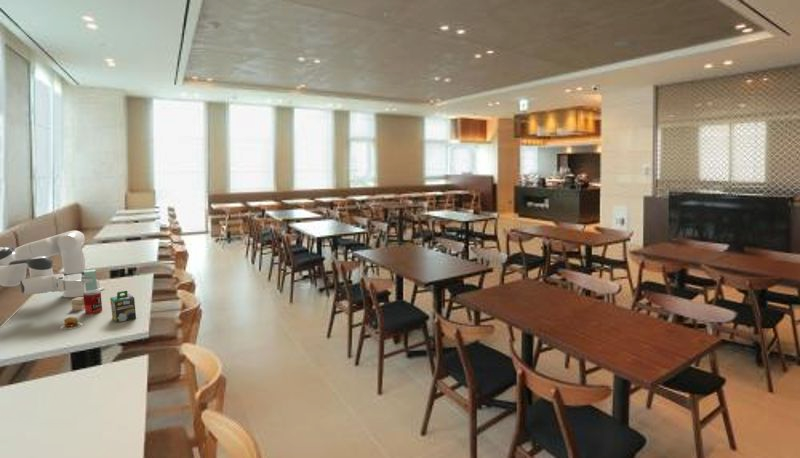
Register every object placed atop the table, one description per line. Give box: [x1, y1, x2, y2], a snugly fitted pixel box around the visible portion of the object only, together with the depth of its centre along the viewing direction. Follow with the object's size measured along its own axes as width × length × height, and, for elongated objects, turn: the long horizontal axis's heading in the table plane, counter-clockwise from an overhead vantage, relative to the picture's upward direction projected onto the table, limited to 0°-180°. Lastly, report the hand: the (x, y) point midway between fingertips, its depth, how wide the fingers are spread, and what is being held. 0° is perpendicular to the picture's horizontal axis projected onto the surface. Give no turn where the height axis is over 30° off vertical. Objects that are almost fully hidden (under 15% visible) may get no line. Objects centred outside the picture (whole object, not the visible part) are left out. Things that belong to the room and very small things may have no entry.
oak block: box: [71, 296, 85, 311], centre depth 251 cm, size 5×5×6 cm
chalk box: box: [109, 290, 137, 323], centre depth 234 cm, size 9×9×15 cm
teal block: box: [84, 268, 97, 291], centre depth 244 cm, size 5×5×10 cm
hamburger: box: [60, 316, 83, 330], centre depth 223 cm, size 12×12×6 cm
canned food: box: [83, 290, 103, 315], centre depth 245 cm, size 8×8×11 cm
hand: (92, 278), depth 244 cm, fingers closed on teal block, 5 cm apart
